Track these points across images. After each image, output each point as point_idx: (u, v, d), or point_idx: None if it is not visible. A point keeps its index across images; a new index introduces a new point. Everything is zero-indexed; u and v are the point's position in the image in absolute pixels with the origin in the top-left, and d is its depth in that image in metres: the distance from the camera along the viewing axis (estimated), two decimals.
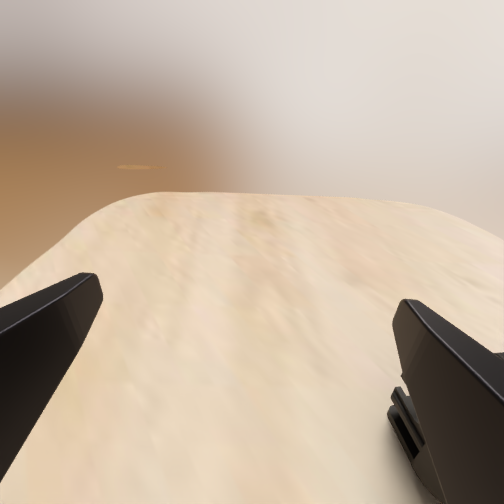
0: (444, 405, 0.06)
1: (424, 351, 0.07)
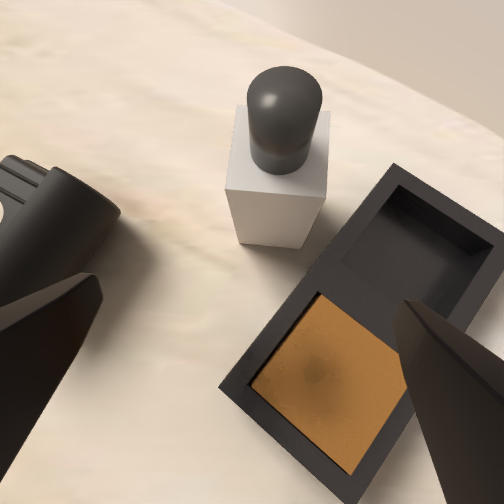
0: (444, 405, 0.06)
1: (424, 351, 0.07)
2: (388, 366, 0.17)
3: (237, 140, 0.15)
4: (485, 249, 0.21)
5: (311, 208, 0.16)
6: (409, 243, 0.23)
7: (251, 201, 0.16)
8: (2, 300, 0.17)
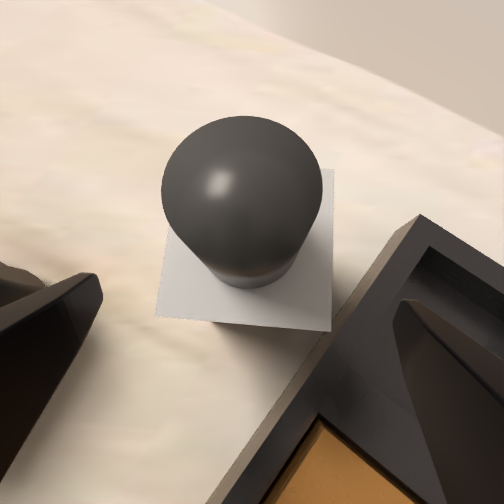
0: (444, 405, 0.06)
1: (424, 351, 0.07)
2: None
3: None
4: None
5: None
6: None
7: None
8: None
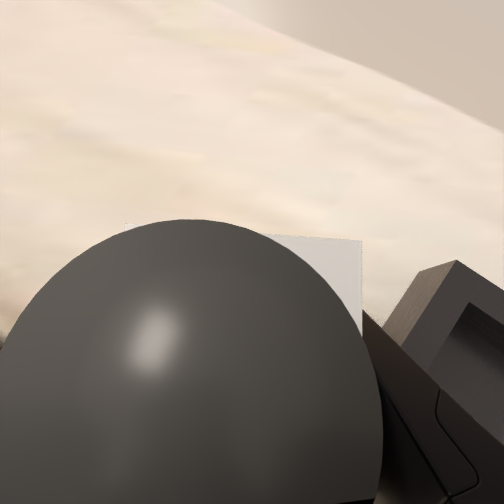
0: None
1: None
2: None
3: None
4: None
5: None
6: (480, 388, 0.13)
7: None
8: None
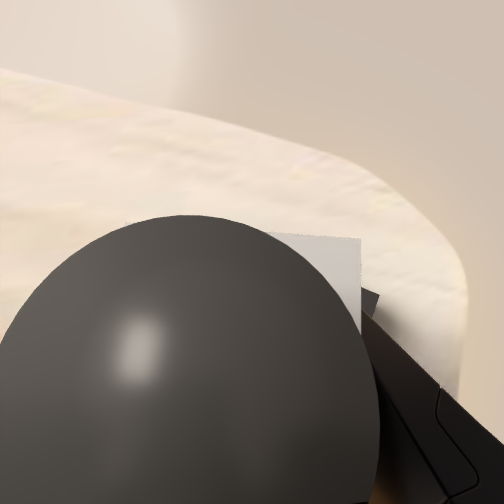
0: None
1: None
2: None
3: None
4: None
5: None
6: None
7: None
8: None
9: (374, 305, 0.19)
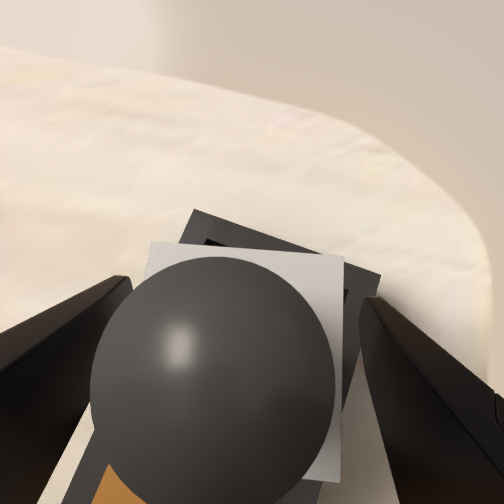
0: (396, 400, 0.06)
1: (381, 347, 0.07)
2: None
3: None
4: (343, 292, 0.15)
5: None
6: None
7: None
8: None
9: (375, 289, 0.14)
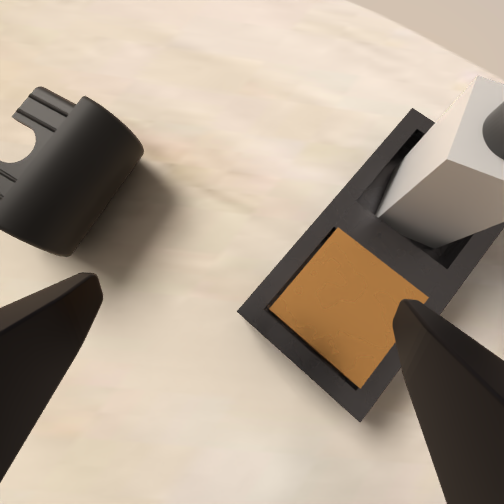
0: (444, 405, 0.06)
1: (424, 351, 0.07)
2: (400, 293, 0.18)
3: (470, 112, 0.14)
4: None
5: None
6: None
7: (457, 181, 0.15)
8: (36, 220, 0.18)
9: None
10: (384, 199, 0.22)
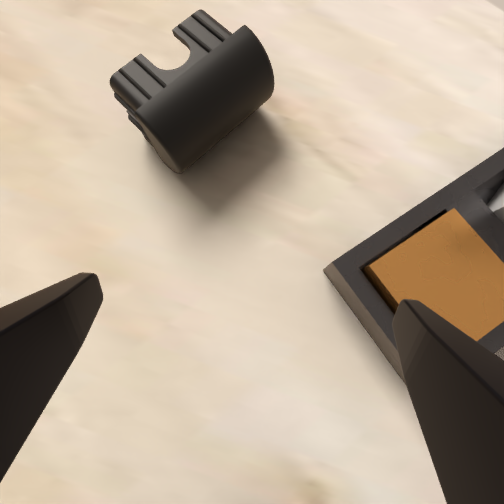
0: (444, 405, 0.06)
1: (424, 351, 0.07)
2: None
3: None
4: None
5: None
6: None
7: None
8: (175, 125, 0.19)
9: None
10: (496, 199, 0.22)
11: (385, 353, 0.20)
